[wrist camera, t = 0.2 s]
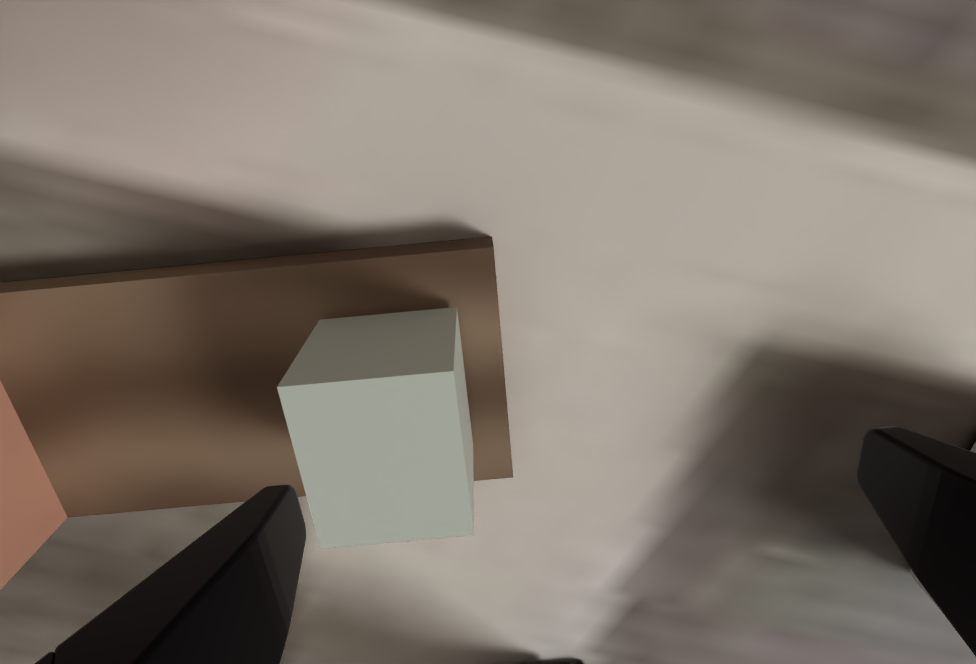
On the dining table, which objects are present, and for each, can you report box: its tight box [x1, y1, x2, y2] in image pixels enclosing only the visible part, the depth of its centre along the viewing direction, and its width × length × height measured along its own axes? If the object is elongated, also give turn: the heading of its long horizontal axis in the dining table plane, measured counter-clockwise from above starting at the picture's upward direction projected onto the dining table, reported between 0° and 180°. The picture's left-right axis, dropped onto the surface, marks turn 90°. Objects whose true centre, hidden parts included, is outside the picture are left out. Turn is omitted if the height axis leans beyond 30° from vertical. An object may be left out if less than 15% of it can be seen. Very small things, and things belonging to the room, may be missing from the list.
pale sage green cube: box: [277, 307, 474, 549], centre depth 20 cm, size 6×5×5 cm
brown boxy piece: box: [0, 237, 513, 590], centre depth 21 cm, size 10×22×6 cm, turn 95°
